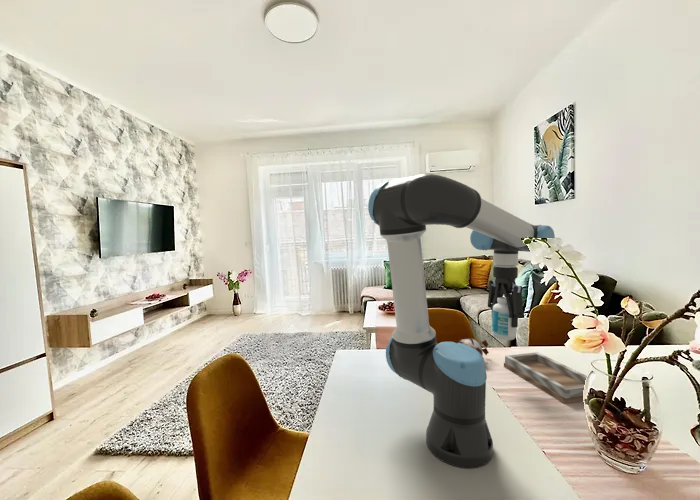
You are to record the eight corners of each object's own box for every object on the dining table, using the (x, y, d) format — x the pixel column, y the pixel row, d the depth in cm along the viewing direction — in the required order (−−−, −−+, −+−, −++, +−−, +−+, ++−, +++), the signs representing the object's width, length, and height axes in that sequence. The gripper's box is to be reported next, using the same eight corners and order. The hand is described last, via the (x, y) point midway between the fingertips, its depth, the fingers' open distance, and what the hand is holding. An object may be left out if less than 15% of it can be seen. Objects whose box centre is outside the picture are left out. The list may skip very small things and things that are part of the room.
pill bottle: (497, 341, 107) (498, 300, 106) (488, 333, 115) (489, 296, 114) (520, 341, 107) (521, 300, 106) (509, 333, 115) (510, 296, 114)
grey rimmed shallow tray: (605, 396, 98) (605, 384, 98) (563, 403, 95) (564, 390, 94) (538, 362, 123) (538, 352, 123) (503, 366, 120) (503, 356, 120)
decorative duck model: (466, 353, 117) (438, 339, 130) (467, 373, 118) (439, 356, 131) (495, 342, 123) (465, 330, 137) (496, 361, 124) (466, 346, 138)
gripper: (538, 269, 100) (536, 341, 102) (495, 262, 120) (494, 323, 122) (517, 269, 99) (515, 343, 100) (477, 263, 118) (476, 324, 120)
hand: (503, 332), depth 111 cm, fingers closed on pill bottle, 7 cm apart
